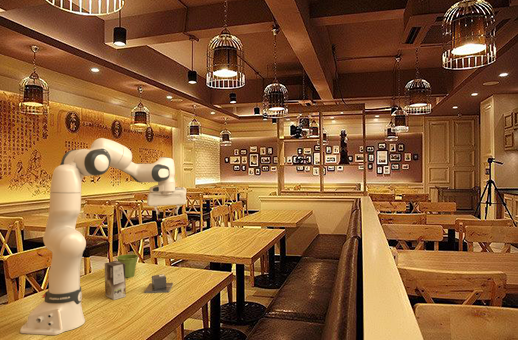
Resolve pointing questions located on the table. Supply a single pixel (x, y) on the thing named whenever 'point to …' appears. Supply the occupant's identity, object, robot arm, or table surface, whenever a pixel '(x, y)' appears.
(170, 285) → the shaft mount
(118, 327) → the table surface
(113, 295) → the coffee box
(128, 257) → the plant pot
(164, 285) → the grey drawer unit
